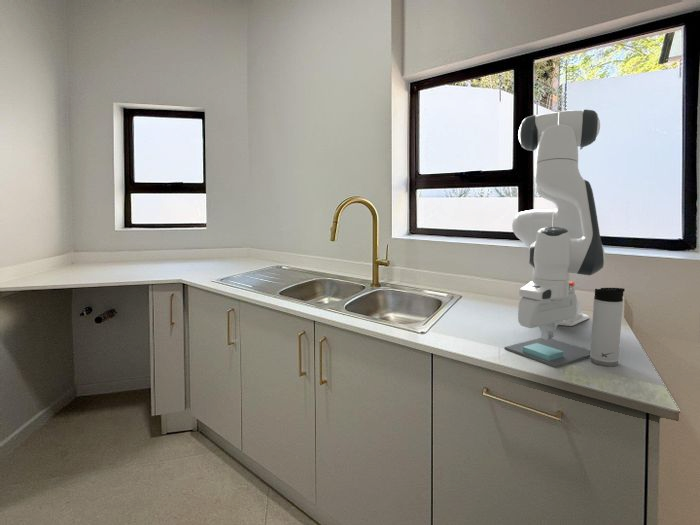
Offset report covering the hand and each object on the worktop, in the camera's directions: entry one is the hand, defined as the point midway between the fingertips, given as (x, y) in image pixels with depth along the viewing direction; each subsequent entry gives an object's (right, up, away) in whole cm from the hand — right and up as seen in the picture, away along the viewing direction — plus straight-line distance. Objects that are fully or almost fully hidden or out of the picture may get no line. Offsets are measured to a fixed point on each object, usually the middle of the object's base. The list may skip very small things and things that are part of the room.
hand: (547, 338), depth 112 cm
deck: (+1, -3, +1) cm, 4 cm away
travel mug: (+12, -6, -5) cm, 14 cm away
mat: (+2, -4, +3) cm, 6 cm away
